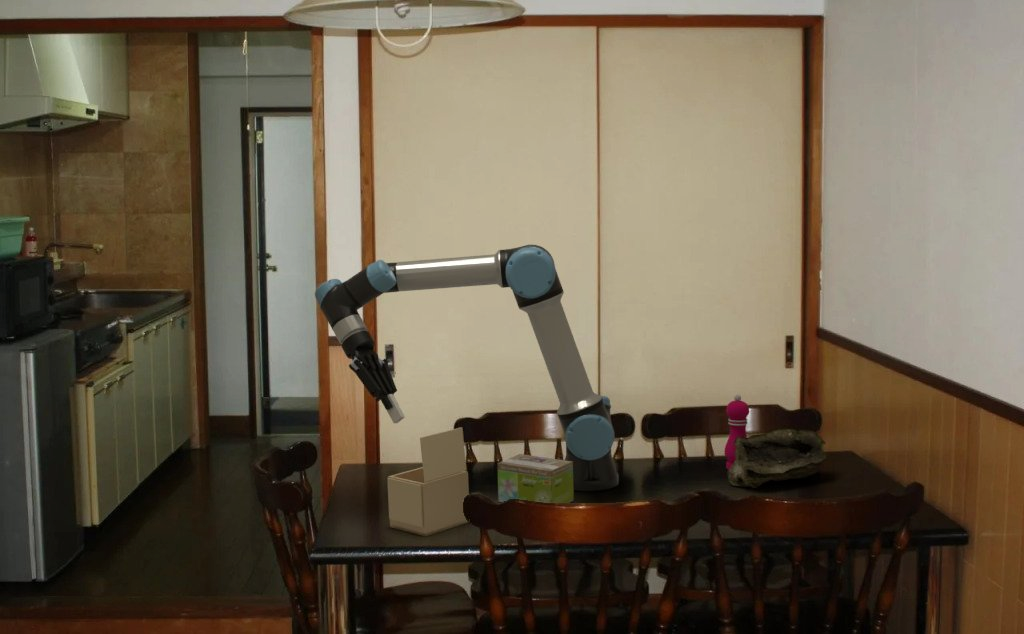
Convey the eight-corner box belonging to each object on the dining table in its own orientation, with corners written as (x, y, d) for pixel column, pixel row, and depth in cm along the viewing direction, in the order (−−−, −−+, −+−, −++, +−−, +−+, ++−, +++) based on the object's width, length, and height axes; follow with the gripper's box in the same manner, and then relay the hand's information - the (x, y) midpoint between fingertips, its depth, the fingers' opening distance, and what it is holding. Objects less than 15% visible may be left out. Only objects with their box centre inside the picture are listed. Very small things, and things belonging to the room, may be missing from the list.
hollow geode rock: (821, 492, 315) (799, 443, 324) (843, 467, 306) (820, 417, 314) (726, 502, 306) (707, 451, 314) (746, 476, 296) (725, 424, 305)
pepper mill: (756, 470, 321) (756, 396, 319) (731, 472, 320) (730, 398, 317) (744, 464, 328) (744, 391, 326) (720, 466, 326) (719, 393, 324)
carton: (434, 512, 291) (432, 463, 290) (471, 521, 283) (469, 471, 281) (386, 527, 280) (384, 476, 279) (423, 537, 272) (421, 485, 270)
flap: (465, 470, 280) (461, 427, 280) (466, 470, 280) (462, 427, 280) (424, 481, 271) (419, 437, 270) (425, 481, 271) (421, 437, 270)
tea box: (497, 524, 280) (495, 461, 278) (521, 513, 288) (519, 452, 286) (552, 533, 272) (551, 469, 270) (575, 521, 280) (574, 459, 278)
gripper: (360, 346, 300) (404, 427, 293) (327, 346, 289) (372, 430, 282) (380, 329, 297) (425, 410, 290) (348, 328, 286) (394, 413, 279)
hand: (399, 420), depth 286 cm, fingers closed
